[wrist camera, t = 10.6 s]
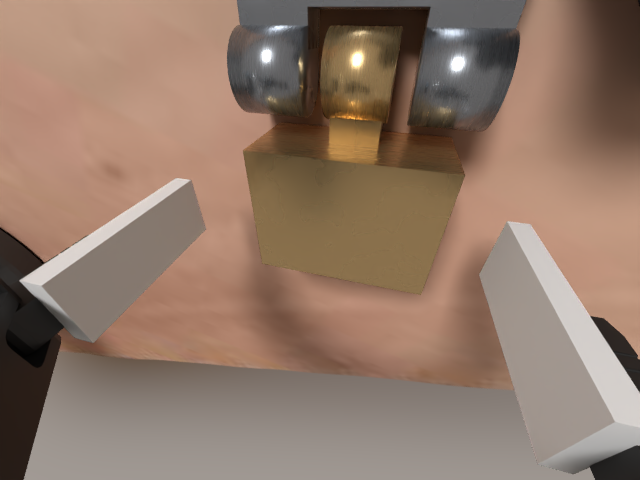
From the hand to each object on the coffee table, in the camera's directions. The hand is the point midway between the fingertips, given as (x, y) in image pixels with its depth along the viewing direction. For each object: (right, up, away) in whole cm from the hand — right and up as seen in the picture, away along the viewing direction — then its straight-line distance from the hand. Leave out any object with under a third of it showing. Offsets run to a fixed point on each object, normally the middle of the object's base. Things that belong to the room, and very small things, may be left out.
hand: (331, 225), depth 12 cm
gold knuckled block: (+1, +4, +2) cm, 4 cm away
